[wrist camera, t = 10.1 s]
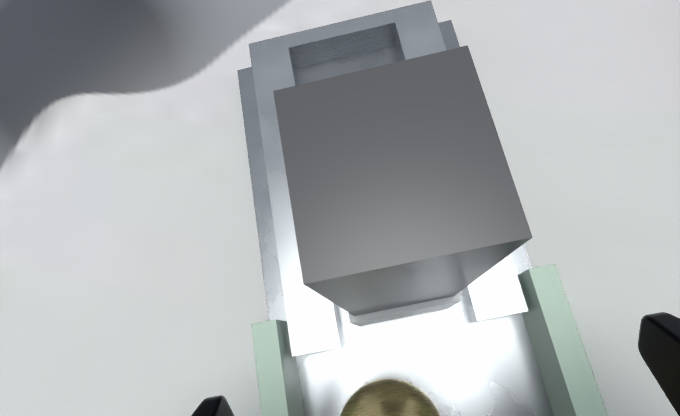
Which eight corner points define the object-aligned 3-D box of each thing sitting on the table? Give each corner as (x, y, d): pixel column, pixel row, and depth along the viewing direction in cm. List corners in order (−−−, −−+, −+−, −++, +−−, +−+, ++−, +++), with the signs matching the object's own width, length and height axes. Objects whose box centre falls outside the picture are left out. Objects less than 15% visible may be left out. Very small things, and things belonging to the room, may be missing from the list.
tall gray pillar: (448, 309, 19) (549, 247, 6) (358, 326, 19) (293, 299, 7) (425, 222, 20) (475, 33, 8) (342, 240, 20) (261, 84, 8)
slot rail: (646, 633, 15) (690, 684, 13) (318, 681, 16) (305, 737, 14) (449, 27, 24) (455, -6, 21) (241, 76, 24) (225, 49, 22)
